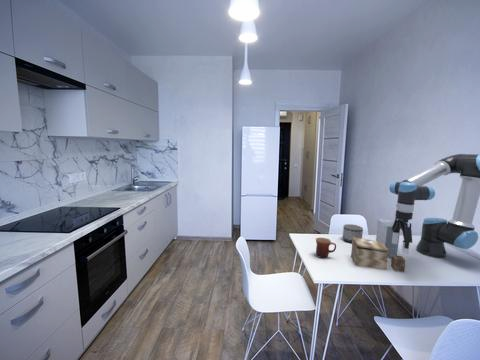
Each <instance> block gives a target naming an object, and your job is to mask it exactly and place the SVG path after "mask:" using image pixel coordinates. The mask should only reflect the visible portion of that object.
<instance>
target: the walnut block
mask: <svg viewBox="0 0 480 360" xmlns="http://www.w3.org/2000/svg"><path fill="white" fill-rule="evenodd" d="M406 261H407V260H406V259H405V257H404V256H402V255H398V254H397V255H392V258H391V260H390V267H391V269H392V270H393V271H395V272H401V273H405V268H406Z"/></svg>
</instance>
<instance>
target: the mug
mask: <svg viewBox="0 0 480 360" xmlns="http://www.w3.org/2000/svg"><path fill="white" fill-rule="evenodd" d="M315 242H316V248H315V254H316V256H317V257H318V258H321V259H327V258H328V257H329V254H330V253H334V252H335V251H337V250H336V249H337V244H336V243H334V242H332V241H331V240H330V239H329V238H327V237H316V238H315ZM331 245H332V246H333V245H334V248H333V249H332V250H330V246H331Z"/></svg>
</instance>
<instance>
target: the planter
mask: <svg viewBox="0 0 480 360" xmlns="http://www.w3.org/2000/svg"><path fill="white" fill-rule="evenodd" d="M363 233H364V227H362V226H361V225H357V224H352V223H349V224H348V223H347V224H346V223H345V224H344V225H343V229H342V239H343V240H344V241H345V242H349V243H351V244H352V241H354V240H353V239H352V238H353V237H356V238H361V239H363V235H364V234H363Z"/></svg>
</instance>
